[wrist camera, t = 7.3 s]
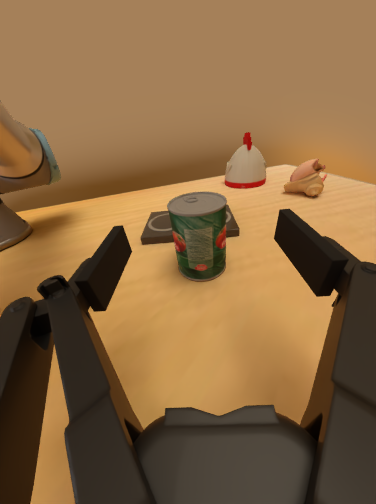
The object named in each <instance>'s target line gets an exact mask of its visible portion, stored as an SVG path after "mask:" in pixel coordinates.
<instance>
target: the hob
mask: <svg viewBox="0 0 376 504" xmlns="http://www.w3.org/2000/svg"><path fill="white" fill-rule="evenodd" d="M231 236H239V227H238V225H237V223H236V221H235V219H234V217H233V215H232V212H231V210H230V208H229V206H228V205H226V237H231ZM141 242H142V244H154V243H165V242H174V239H173V232H172V227H171V221H170V216H169V211H161V212H151V214H150V217H149V219H148V222H147V224H146V226H145V229H144V231H143V233H142V236H141Z"/></svg>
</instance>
